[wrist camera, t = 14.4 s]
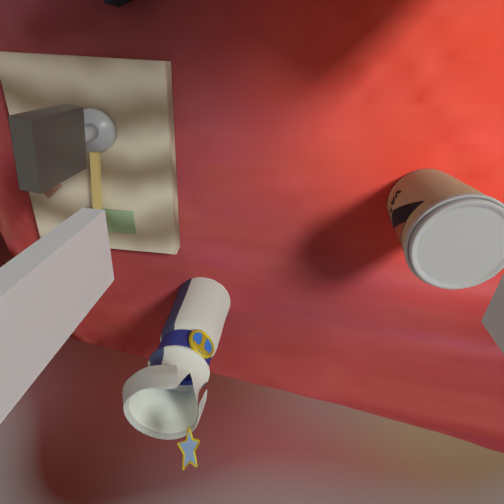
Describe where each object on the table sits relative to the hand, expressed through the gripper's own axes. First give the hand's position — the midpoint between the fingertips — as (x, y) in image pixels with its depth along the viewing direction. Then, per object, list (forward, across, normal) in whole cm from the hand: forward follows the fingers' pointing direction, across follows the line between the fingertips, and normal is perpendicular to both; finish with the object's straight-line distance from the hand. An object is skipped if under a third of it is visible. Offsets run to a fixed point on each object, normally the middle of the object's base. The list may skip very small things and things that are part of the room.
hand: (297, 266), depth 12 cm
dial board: (+31, -22, -6) cm, 39 cm away
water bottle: (+32, -10, -25) cm, 42 cm away
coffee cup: (+32, +16, -8) cm, 36 cm away
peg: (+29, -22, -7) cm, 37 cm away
